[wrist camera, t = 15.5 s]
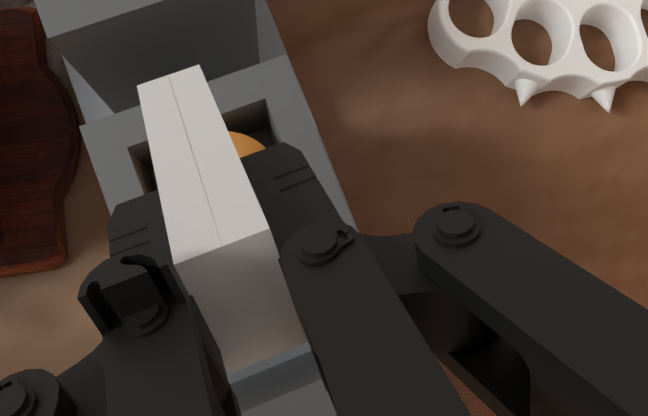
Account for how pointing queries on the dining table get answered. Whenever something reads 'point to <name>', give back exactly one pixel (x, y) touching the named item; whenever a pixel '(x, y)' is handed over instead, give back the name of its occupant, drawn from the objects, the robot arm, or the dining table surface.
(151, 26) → the button stand
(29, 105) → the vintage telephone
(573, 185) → the dining table surface
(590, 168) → the dining table surface
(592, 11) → the white brass knuckles
